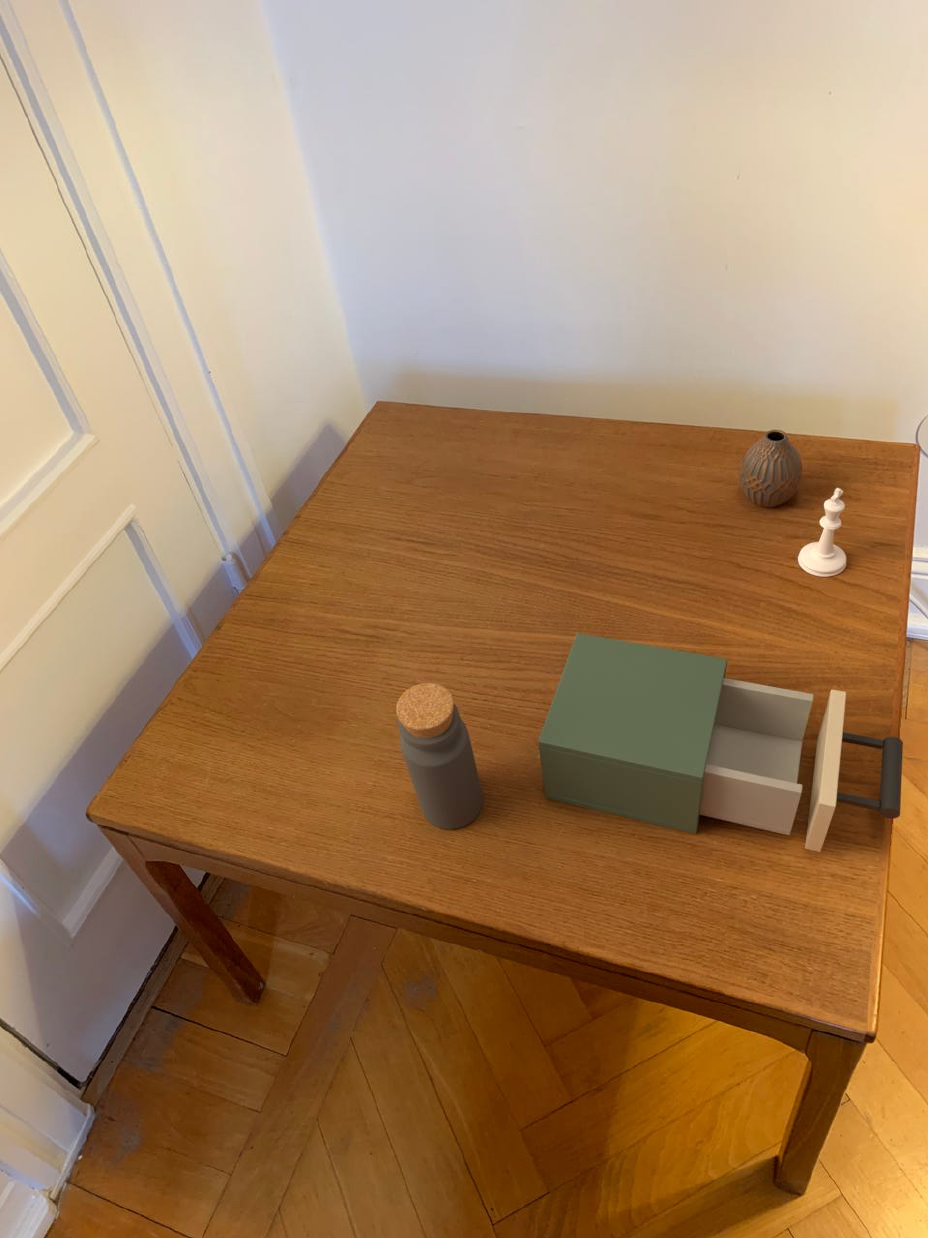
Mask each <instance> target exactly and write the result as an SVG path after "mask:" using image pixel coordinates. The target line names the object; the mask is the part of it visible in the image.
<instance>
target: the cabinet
mask: <svg viewBox="0 0 928 1238" xmlns="http://www.w3.org/2000/svg"><path fill="white" fill-rule="evenodd" d="M727 667H728V658H725V657H717V656H712V655H707V654H701V653H695V652H689V651H684V650H677V649H672V648H666V647H661V646H655V645H649V644H643V643H637V642H633V641H632V642H631V641H626V640H620V639H615V638H609V637H603V636H597V635H592V634H586V633H579V632H577V633H576V635H575V637H574V639H573V643H572V646H571V648H570V651H569V654H568V657H567V660H566V662H565V665H564V668H563V671H562V673H561V676H560V680H559V682H558V685H557V686H556V687H557V688H556V690H555V693H554V695H553V698H552V702H551V704H550V707H549V710H548V713H547V716H546V718H545V721H544V724H543V727H542V730H541V732H540V735H539V737H538V740H537V743H538V751H539V757H540V759H539V760H540V767H541V776H542V781H543V789H544V798H545V799H547V800H550V801H551V800H552V801H556V802H561V803H564V804H569V805H573V806H577V807H581V808H584V809H589V810H593V811H597V812H601V813H606V814H610V815H614V816H618V817H621V818H626V819H631V820H634V821H639V822H642V823H647V824H651V825H654V826H655V825H656V826H660V827H662V828H663V827H664V828H668V829H672V830H676V831H679V832H685V833H689V834H691V835H697V833H698V828H699V823H700V822H699V821H700V818H701V815H700V814H699V812H700V804H701V795H702V787H703V778H704V772H705V767H706V763H707V758H708V753H709V748H710V743H711V738H712V734H713V729H714V724H715V719H716V714H717V709H718V705H719V700H720V695H721V690H722V685H723V680H724V678H726V674H727Z"/></svg>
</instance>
